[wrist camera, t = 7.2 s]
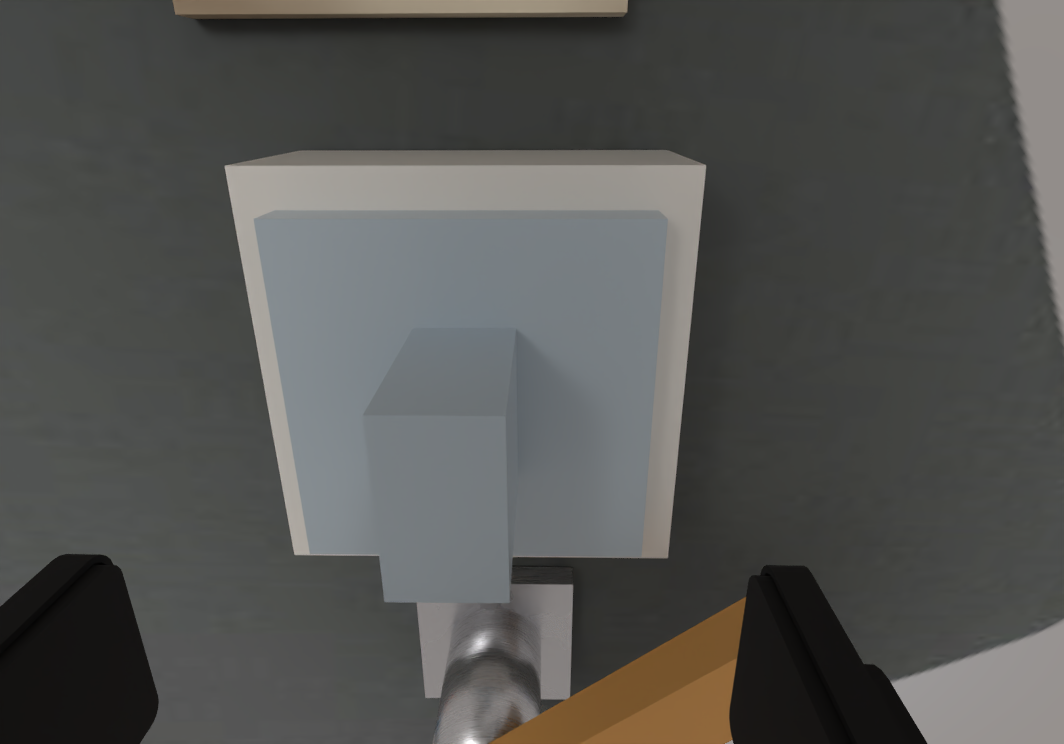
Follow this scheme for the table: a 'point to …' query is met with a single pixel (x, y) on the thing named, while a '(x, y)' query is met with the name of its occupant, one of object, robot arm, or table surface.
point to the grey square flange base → (498, 656)
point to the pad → (396, 8)
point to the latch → (653, 695)
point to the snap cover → (467, 385)
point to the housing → (488, 187)
